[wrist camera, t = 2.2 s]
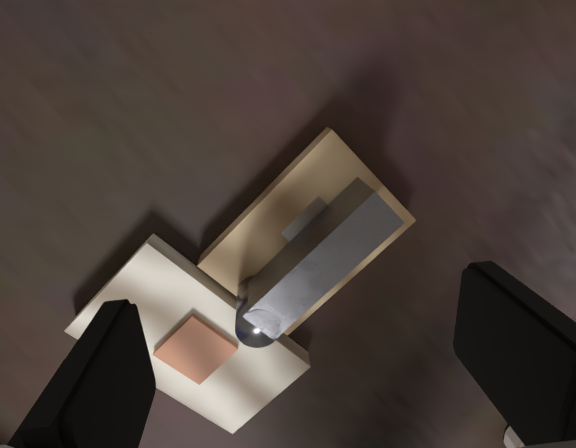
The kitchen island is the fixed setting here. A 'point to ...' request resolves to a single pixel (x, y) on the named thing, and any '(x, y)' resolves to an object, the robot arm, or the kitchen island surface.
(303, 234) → the bar
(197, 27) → the kitchen island surface
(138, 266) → the door and jamb
